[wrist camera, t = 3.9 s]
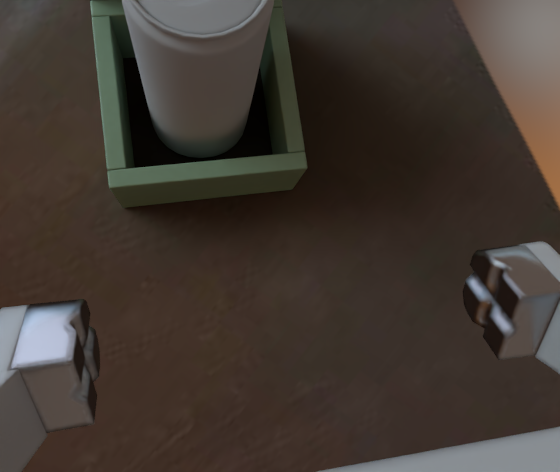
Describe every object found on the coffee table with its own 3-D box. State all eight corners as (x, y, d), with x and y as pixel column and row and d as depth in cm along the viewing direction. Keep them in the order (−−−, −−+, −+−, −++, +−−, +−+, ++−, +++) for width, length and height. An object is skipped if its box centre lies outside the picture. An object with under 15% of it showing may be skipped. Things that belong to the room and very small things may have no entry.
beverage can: (264, 132, 28) (310, -6, 16) (186, 180, 27) (174, 71, 15) (212, 58, 28) (220, -132, 16) (133, 103, 27) (80, -64, 15)
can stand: (293, 189, 28) (383, 60, 14) (122, 208, 26) (36, 84, 12) (267, 18, 29) (326, -254, 15) (103, 27, 27) (6, -265, 14)
